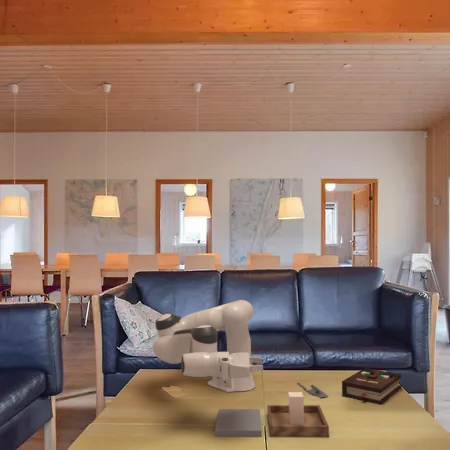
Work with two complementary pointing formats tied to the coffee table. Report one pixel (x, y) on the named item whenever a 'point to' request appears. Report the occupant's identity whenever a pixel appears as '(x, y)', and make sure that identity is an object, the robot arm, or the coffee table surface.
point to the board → (238, 422)
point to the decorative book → (371, 385)
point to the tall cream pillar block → (296, 408)
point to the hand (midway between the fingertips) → (262, 363)
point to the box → (312, 425)
